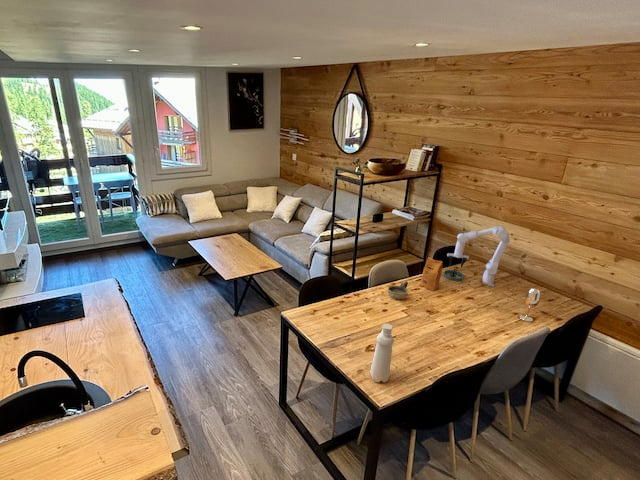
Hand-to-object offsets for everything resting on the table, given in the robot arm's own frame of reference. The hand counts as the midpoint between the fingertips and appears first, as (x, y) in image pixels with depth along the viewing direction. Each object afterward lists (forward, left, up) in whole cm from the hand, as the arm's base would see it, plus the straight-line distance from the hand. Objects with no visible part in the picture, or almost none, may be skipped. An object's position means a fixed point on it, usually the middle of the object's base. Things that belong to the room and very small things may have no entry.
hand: (455, 266), depth 292 cm
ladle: (-2, 0, -10) cm, 10 cm away
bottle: (+132, -46, -11) cm, 140 cm away
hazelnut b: (-3, -3, -9) cm, 10 cm away
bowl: (+43, -39, -11) cm, 59 cm away
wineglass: (+45, +39, -11) cm, 60 cm away
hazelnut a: (+1, +3, -9) cm, 10 cm away
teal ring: (0, 0, -10) cm, 10 cm away
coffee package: (+20, -18, -11) cm, 29 cm away
